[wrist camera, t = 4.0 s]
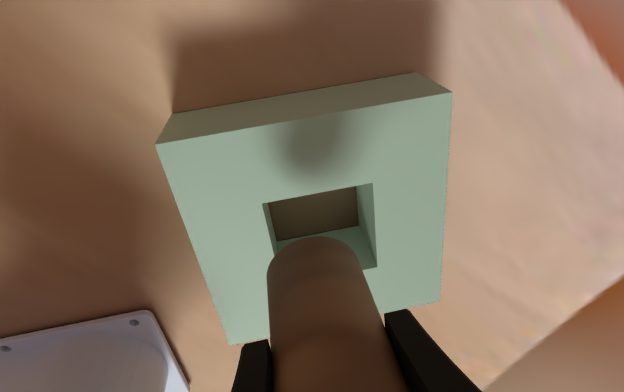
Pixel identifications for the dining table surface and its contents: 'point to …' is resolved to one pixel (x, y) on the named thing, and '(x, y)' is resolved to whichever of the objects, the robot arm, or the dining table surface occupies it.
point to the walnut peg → (326, 323)
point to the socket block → (314, 187)
